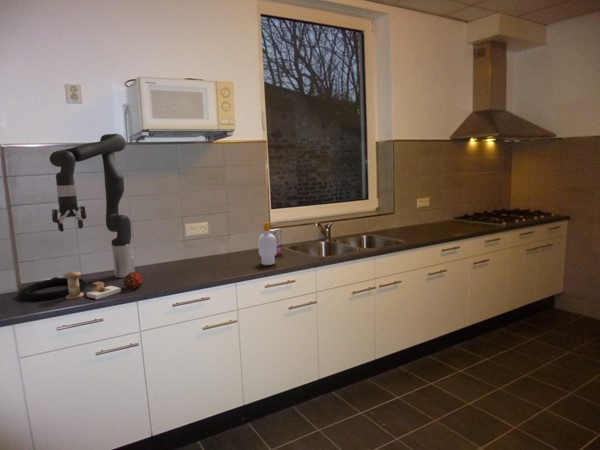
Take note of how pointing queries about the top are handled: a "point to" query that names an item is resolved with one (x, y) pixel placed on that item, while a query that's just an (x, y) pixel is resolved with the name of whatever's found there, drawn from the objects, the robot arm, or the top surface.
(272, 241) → the soap bottle
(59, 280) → the cable lock
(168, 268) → the top surface
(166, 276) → the top surface
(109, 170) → the robot arm
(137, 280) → the dragon fruit
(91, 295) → the notch board
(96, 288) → the brown wooden block
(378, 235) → the top surface
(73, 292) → the bobbin
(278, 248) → the candy bar box
